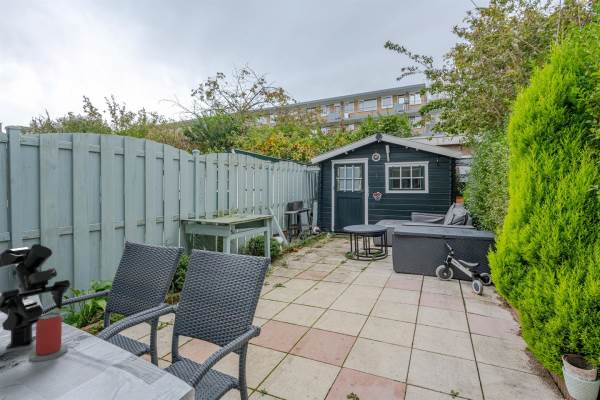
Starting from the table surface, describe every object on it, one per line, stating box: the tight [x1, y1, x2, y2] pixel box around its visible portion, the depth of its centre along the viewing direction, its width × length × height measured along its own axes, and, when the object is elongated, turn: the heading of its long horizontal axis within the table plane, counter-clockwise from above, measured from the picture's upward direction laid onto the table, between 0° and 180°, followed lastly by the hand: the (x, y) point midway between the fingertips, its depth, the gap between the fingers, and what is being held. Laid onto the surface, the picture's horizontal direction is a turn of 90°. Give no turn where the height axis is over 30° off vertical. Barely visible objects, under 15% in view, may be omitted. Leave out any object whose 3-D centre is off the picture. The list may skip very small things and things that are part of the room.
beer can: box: [35, 312, 63, 356], centre depth 99 cm, size 7×7×12 cm
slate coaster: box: [28, 344, 69, 363], centre depth 99 cm, size 10×10×1 cm
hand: (44, 312), depth 100 cm, fingers open, 9 cm apart
